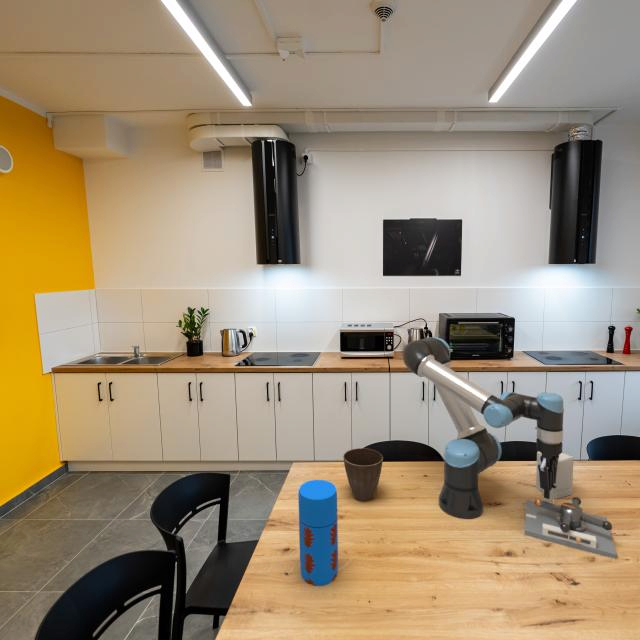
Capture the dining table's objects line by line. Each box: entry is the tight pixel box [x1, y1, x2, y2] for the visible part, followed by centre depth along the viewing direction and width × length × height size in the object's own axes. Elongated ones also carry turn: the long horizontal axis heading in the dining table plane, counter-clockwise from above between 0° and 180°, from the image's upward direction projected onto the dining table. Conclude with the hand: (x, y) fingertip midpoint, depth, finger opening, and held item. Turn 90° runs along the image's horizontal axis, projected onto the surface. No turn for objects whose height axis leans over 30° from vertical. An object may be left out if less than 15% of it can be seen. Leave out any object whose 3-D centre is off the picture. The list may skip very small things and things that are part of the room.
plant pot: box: [342, 447, 384, 502], centre depth 151 cm, size 15×15×16 cm
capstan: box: [533, 496, 613, 532], centre depth 129 cm, size 22×22×6 cm
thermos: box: [297, 479, 339, 587], centre depth 112 cm, size 11×11×25 cm
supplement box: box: [535, 451, 575, 500], centre depth 152 cm, size 9×9×15 cm
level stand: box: [524, 499, 618, 560], centre depth 130 cm, size 24×21×4 cm
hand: (547, 505), depth 134 cm, fingers closed
